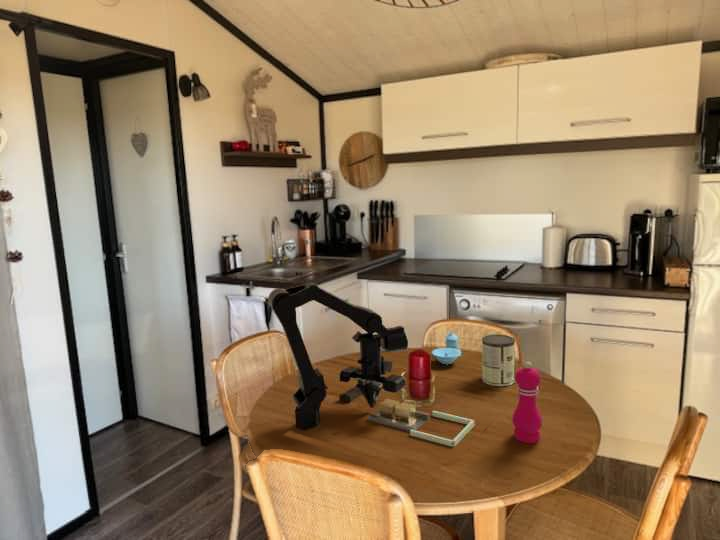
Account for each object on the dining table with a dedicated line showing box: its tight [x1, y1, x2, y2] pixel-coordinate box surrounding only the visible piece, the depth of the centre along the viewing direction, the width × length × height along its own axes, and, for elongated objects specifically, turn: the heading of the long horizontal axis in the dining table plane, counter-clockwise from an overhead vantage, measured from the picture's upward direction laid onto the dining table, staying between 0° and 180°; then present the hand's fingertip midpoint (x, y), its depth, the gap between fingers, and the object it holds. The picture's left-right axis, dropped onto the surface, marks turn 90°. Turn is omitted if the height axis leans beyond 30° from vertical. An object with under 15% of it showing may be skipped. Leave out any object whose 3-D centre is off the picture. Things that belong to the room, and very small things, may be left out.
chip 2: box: [395, 402, 417, 424], centre depth 140 cm, size 4×4×4 cm
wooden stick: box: [338, 385, 363, 404], centre depth 161 cm, size 19×4×5 cm, turn 145°
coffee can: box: [481, 334, 516, 387], centre depth 167 cm, size 10×10×14 cm
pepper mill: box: [511, 361, 543, 444], centre depth 129 cm, size 7×7×20 cm
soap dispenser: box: [431, 331, 462, 366], centre depth 188 cm, size 18×10×9 cm, turn 158°
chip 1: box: [379, 398, 400, 420], centre depth 142 cm, size 4×4×4 cm
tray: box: [409, 410, 476, 448], centre depth 134 cm, size 13×12×2 cm
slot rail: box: [367, 409, 431, 433], centre depth 141 cm, size 10×14×2 cm
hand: (372, 407), depth 146 cm, fingers closed
